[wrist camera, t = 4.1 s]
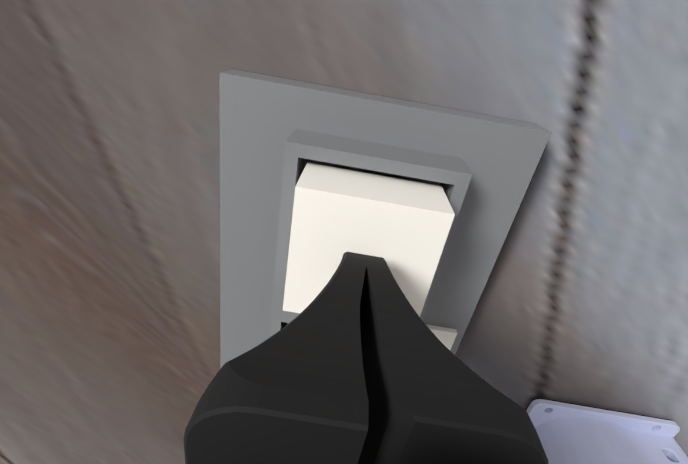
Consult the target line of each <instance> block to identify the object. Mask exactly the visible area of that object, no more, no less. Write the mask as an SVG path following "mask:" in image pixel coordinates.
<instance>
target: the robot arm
mask: <svg viewBox="0 0 688 464" xmlns="http://www.w3.org/2000/svg"><path fill="white" fill-rule="evenodd" d="M679 431H680V427H679V426H678V425H677V424H676V423H675V422H674V421H670V420H664V419H658V418H652V417H646V416H640V415H634V414H628V413H622V412H616V411H610V410H604V409H598V408H592V407H586V406H580V405H574V404H568V403H562V402H556V401H550V400H544V399H536V400H534V401H532V402H531V404H530V405H529V407H528V408H527V410H525V409H523V408H522V407H521V406H519V405H518V404H516V403H515V402H513V401H512V400H511V399H509V398H508V397H506V396H505V395H503V394H502V393H500V392H499V391H498V390H496V389H495V388H493V387H492V386H491V385H489V384H488V383H487V382H486V381H484V380H483V379H482V378H481V377H479V376H478V375H477V374H476V373H474V372H473V371H472V370H471V369H470V368H468V367H467V366H466V365H465V364H464V363H463V362H462V361H460V360H459V359H458V358H457V357H456V356H455V355H454V354H453V353H452V352H451V351H450V350H449V349H448V348H447V347H446V346H445V345H444V344H443V343H442V342H441V341H440V340H439V339H438V338H437V337H436V336H435V335H434V333H433V332H432V331H431V330H430V329H429V328H428V327H427V326H426V324H425V323H424V322H423V321H422V319H421V318H420V317H419V316H418V314H417V313H416V311H415V310H414V309H413V307H412V306H411V304H410V303H409V301H408V300H407V298H406V297H405V295H404V293H403V292H402V290H401V289H400V287H399V285H398V284H397V282H396V280H395V278H394V276H393V275H392V273H391V271H390V269H389V267H388V265H387V263H386V261H385V260H384V258H382V257H376V256H370V255H364V254H359V253H353V252H345V253H344V254H343V257H342V260H341V262H340V264H339V266H338V268H337V270H336V271H335V273H334V274H333V276H332V277H331V279H330V280H329V282H328V283H327V285H326V286H325V287H324V288H323V290H322V291H321V292H320V293H319V294H318V296H317V297H316V298H315V299H314V300H313V301H312V302H311V303H310V304H309V305H308V307H307V308H305V309H304V310H303V311H302V312H301V313H300V314H299V315H298V316H297V317H296V318H295V319H293V320H292V321H291V322H290V323H289V324H287V325H286V326H285V327H284V328H282V329H281V330H280V331H278V332H277V333H275V334H274V335H273V336H271V337H270V338H268V339H267V340H265V341H264V342H262V343H261V344H259V345H258V346H256V347H254V348H253V349H251V350H249V351H247V352H245V353H243V354H241V355H240V356H238V357H236V358H234V359H232V360H230V361H228V362H226V363H225V364H224V365H223V366H222V368H221V369H220V370H219V372H218V373H217V374H216V376H215V377H214V378H213V380H212V381H211V383H210V384H209V386H208V387H207V389H206V390H205V392H204V394H203V395H202V397H201V398H200V400H199V402H198V404H197V406H196V408H195V410H194V412H193V414H192V417H191V419H190V421H189V423H188V425H187V427H186V430H185V435H184V451H185V462H186V464H688V457H687V455H686V454H685V453H684V451H683V450H682V449H681V447H680V446H679V445H678V443H677V442H676V441H675V439H674V438H673V437H674V436H675V435H676V434H677V433H678V432H679Z"/></svg>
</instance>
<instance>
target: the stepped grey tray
mask: <svg viewBox="0 0 688 464" xmlns="http://www.w3.org/2000/svg"><path fill="white" fill-rule="evenodd" d="M551 133H552V132H550V131H548V130H546V129H544V128H542V127H541V126H539V125H537V124H533V123H527V122H522V121H516V120H511V119H505V118H500V117H494V116H489V115H483V114H477V113H472V112H466V111H461V110H455V109H450V108H444V107H439V106H433V105H428V104H422V103H417V102H411V101H406V100H400V99H395V98H389V97H384V96H378V95H373V94H367V93H362V92H356V91H351V90H345V89H339V88H334V87H328V86H323V85H317V84H312V83H306V82H301V81H295V80H290V79H284V78H279V77H273V76H268V75H262V74H257V73H251V72H246V71H240V70H235V69H231V70H227V71H223V72H220V333H221V368H222V366H223V365H224V364H225V363H226V362H228V361H230V360H232V359H234V358H236V357H238V356H240V355H241V354H243V353H245V352H247V351H249V350H251V349H253V348H254V347H256V346H258V345H259V344H261V343H262V342H264V341H265V340H267V339H268V338H270V337H271V336H273V335H274V334H275V333H277V332H278V331H280V330H281V329H282V328H284V327H285V326H286V325H287V324H288V323H290V322H291V321H292V320H293V319H295V318H296V317H297V316H298V315H299V314H300V313H295V312H289V311H283V301H284V291H285V282H286V272H287V262H288V253H289V243H290V233H291V224H292V214H293V204H294V195H295V186H296V184H297V182H298V180H299V178H300V176H301V174H302V172H303V170H304V168H305V166H306V164H307V162H308V163H314V164H319V165H325V166H331V167H336V168H342V169H348V170H353V171H359V172H364V173H370V174H376V175H381V176H387V177H393V178H398V179H404V180H410V181H415V182H421V183H427V184H432V185H438V186H442V188H443V190H444V192H445V194H446V196H447V198H448V201H449V203H450V205H451V207H452V209H453V211H454V214H455V216H454V219H453V222H452V225H451V228H450V230H449V233H448V236H447V239H446V242H445V245H444V248H443V251H442V254H441V257H440V260H439V262H438V265H437V268H436V271H435V274H434V277H433V280H432V283H431V286H430V289H429V292H428V295H427V297H426V300H425V303H424V306H423V309H422V312H421V315H420V318H421V319H422V321H423V322H424V323H425V324H426V326H427V327H428V328H429V329H430V330H431V331H432V332H433V333H434V335H435V336H436V337H437V338H438V339H439V340H440V341H441V342H442V343H443V344H444V345H445V346H446V347H447V348H448V349H449V350H450V351H451V352H452V353H453V354H454V355H455V354H456V352H457V349H458V347H459V345H460V342H461V340H462V338H463V336H464V333H465V331H466V329H467V326H468V324H469V322H470V319H471V317H472V315H473V312H474V310H475V308H476V306H477V303H478V301H479V299H480V296H481V294H482V292H483V289H484V287H485V285H486V282H487V280H488V278H489V276H490V273H491V271H492V269H493V266H494V264H495V262H496V259H497V257H498V255H499V252H500V250H501V248H502V246H503V243H504V241H505V239H506V236H507V234H508V232H509V229H510V227H511V225H512V222H513V220H514V218H515V216H516V213H517V211H518V209H519V206H520V204H521V202H522V199H523V197H524V195H525V192H526V190H527V188H528V186H529V183H530V181H531V179H532V176H533V174H534V172H535V169H536V167H537V165H538V162H539V160H540V158H541V156H542V153H543V151H544V149H545V146H546V144H547V142H548V139H549V137H550V135H551Z"/></svg>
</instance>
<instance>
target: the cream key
mask: <svg viewBox="0 0 688 464" xmlns="http://www.w3.org/2000/svg"><path fill="white" fill-rule="evenodd" d="M454 216H455V214H454V211H453V209H452V207H451V205H450V203H449V201H448V198H447V196H446V194H445V192H444V190H443V188H442V186H438V185H432V184H427V183H421V182H415V181H410V180H404V179H398V178H393V177H387V176H381V175H376V174H370V173H364V172H359V171H353V170H348V169H342V168H336V167H331V166H325V165H319V164H314V163H308V162H307V164H306V166H305V168H304V170H303V172H302V174H301V176H300V178H299V180H298V182H297V184H296V186H295V195H294V204H293V214H292V224H291V233H290V243H289V253H288V262H287V272H286V282H285V291H284V301H283V311H289V312H295V313H301V312H302V311H303V310H304V309H305V308H307V307H308V305H309V304H310V303H311V302H312V301H313V300H314V299H315V298H316V297H317V296H318V294H319V293H320V292H321V291H322V290H323V288H324V287H325V286H326V285H327V283H328V282H329V280H330V279H331V277H332V276H333V274H334V273H335V271H336V270H337V268H338V266H339V264H340V262H341V260H342V257H343V254H344V253H345V252H353V253H359V254H364V255H370V256H376V257H382V258H384V260H385V261H386V263H387V265H388V267H389V269H390V271H391V273H392V275H393V276H394V278H395V280H396V282H397V284H398V285H399V287H400V289H401V290H402V292H403V293H404V295H405V297H406V298H407V300H408V301H409V303H410V304H411V306H412V307H413V309H414V310H415V311H416V313H417V314H418V316H419V317H420V315H421V312H422V309H423V306H424V303H425V300H426V297H427V295H428V292H429V289H430V286H431V283H432V280H433V277H434V274H435V271H436V268H437V265H438V262H439V260H440V257H441V254H442V251H443V248H444V245H445V242H446V239H447V236H448V233H449V230H450V228H451V225H452V222H453V219H454Z"/></svg>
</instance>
